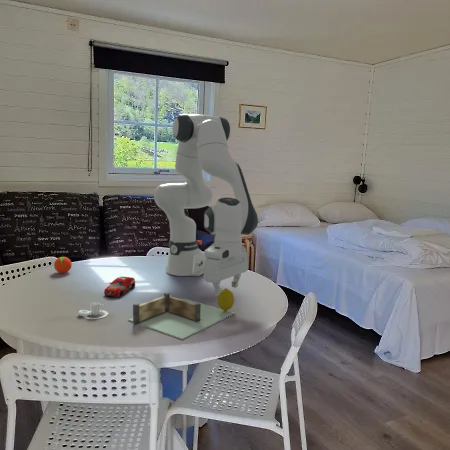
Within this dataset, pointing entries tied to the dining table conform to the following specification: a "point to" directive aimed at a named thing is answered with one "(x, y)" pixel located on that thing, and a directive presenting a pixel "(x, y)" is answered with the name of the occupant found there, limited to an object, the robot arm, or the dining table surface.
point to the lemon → (225, 299)
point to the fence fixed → (150, 308)
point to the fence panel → (184, 308)
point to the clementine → (62, 264)
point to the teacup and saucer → (93, 311)
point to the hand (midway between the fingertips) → (226, 290)
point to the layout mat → (184, 321)
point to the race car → (120, 286)
